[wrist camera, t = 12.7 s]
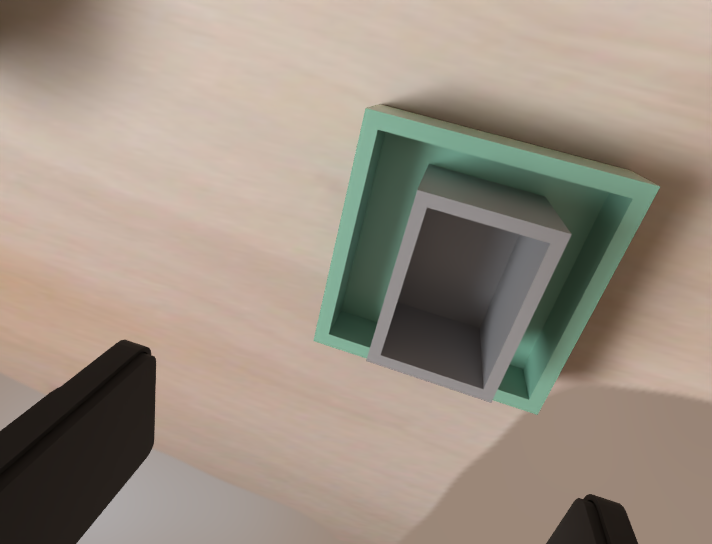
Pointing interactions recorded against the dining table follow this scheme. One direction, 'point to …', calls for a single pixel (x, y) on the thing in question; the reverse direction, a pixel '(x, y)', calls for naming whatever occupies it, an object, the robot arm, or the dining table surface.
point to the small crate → (466, 281)
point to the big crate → (500, 165)
